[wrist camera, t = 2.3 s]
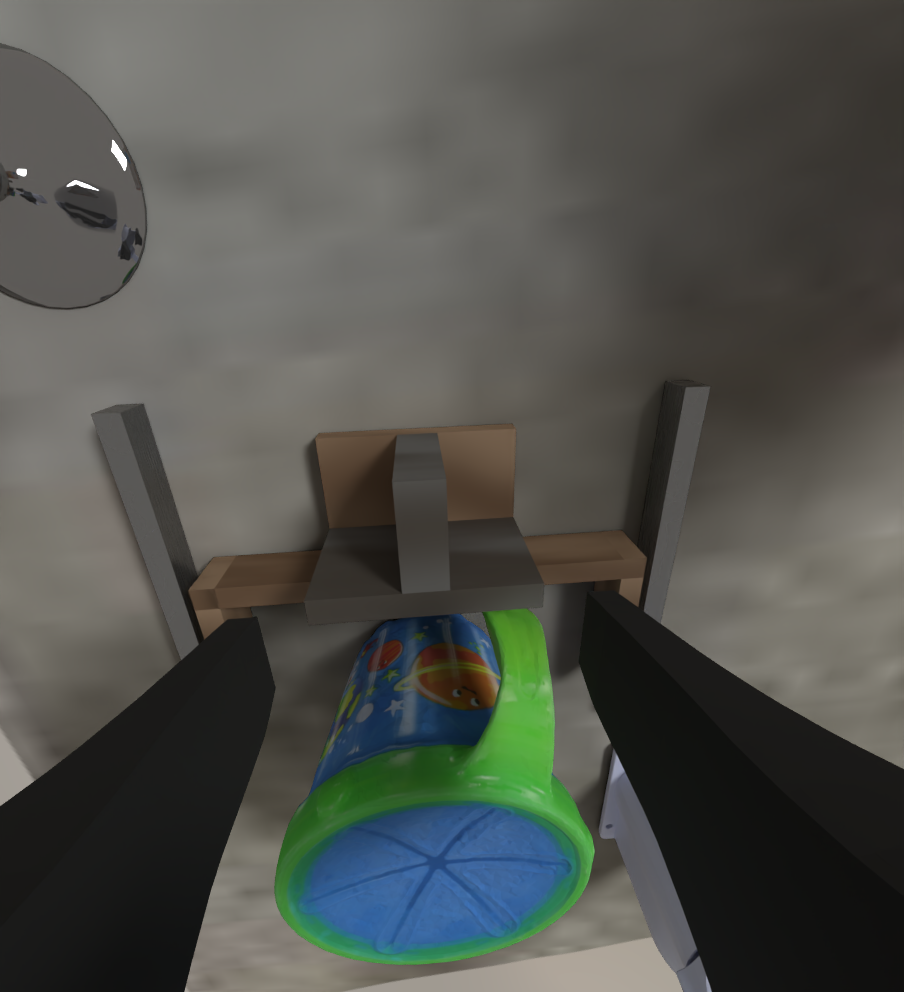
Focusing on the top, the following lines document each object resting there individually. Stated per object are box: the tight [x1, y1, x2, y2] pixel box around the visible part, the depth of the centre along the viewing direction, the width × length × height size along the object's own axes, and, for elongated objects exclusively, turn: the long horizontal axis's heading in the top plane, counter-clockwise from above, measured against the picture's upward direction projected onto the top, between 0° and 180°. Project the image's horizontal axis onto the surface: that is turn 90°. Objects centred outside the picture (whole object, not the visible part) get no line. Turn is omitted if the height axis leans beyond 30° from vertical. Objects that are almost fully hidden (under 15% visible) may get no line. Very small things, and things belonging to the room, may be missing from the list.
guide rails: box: [91, 380, 710, 660], centre depth 21 cm, size 18×23×2 cm
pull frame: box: [188, 424, 647, 639], centre depth 18 cm, size 13×19×6 cm
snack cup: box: [274, 609, 595, 965], centre depth 19 cm, size 16×10×10 cm
